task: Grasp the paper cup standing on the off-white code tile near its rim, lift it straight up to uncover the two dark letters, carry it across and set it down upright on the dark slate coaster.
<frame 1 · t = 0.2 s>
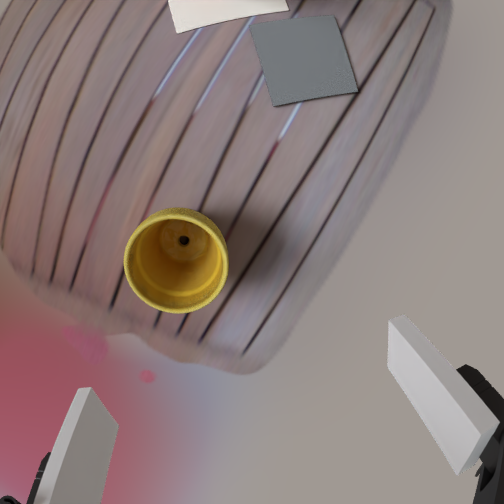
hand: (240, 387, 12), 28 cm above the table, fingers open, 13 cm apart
plant pot: (185, 237, 38), on the table
slate coaster: (304, 57, 32), on the table
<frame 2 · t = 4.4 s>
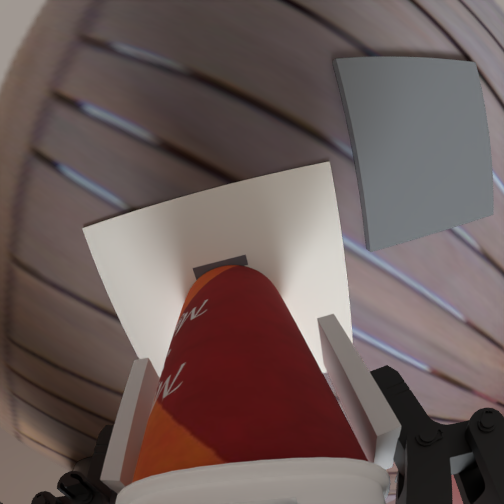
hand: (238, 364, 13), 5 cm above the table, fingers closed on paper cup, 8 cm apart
paper cup: (233, 307, 18), resting on code tile, touching gripper
code tile: (233, 308, 18), on the table
slate coaster: (429, 144, 16), on the table
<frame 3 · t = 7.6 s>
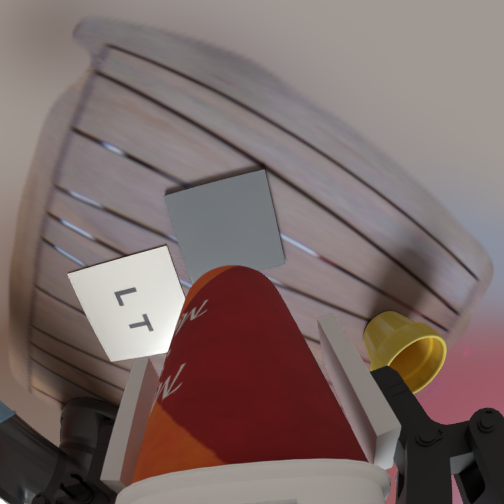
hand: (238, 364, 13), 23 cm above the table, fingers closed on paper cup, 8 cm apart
paper cup: (233, 308, 18), point 17 cm above the table, touching gripper
code tile: (133, 310, 37), on the table
plant pot: (383, 328, 42), on the table
slate coaster: (226, 229, 35), on the table
when the fingers open (7 cm above the table, at t = 10.7 s): paper cup drops 1 cm, resting on slate coaster.
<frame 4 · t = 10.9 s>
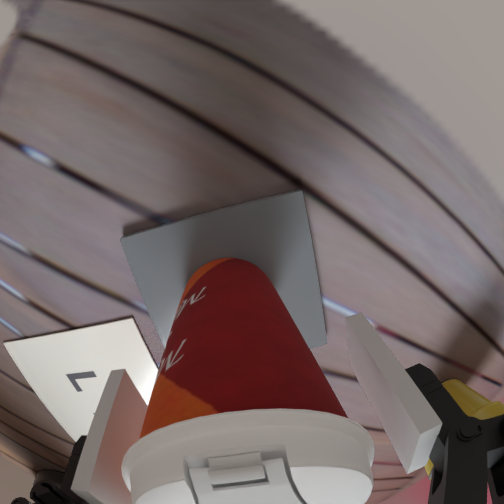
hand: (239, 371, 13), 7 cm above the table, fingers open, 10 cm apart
paper cup: (229, 298, 19), resting on slate coaster
code tile: (97, 398, 22), on the table
plant pot: (437, 398, 27), on the table
slate coaster: (232, 294, 20), on the table
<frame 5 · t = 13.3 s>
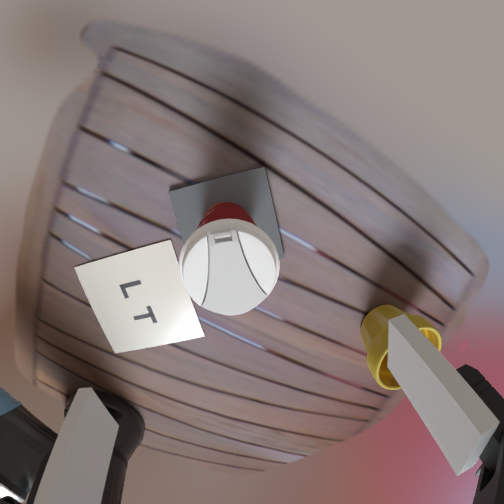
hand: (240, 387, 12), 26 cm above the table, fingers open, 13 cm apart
paper cup: (226, 225, 36), resting on slate coaster
code tile: (138, 302, 38), on the table
plant pot: (380, 321, 43), on the table
slate coaster: (228, 224, 36), on the table
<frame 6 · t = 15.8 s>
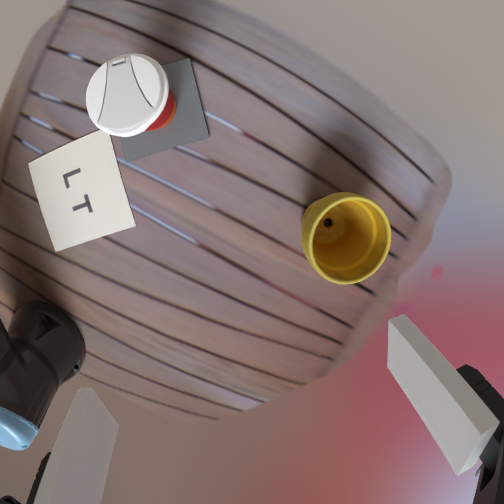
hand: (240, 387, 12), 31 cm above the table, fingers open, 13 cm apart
paper cup: (155, 109, 35), resting on slate coaster
code tile: (77, 192, 37), on the table
plant pot: (324, 220, 42), on the table
slate coaster: (157, 109, 35), on the table
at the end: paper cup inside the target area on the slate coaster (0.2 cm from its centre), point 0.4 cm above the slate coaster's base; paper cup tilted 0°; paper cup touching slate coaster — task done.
